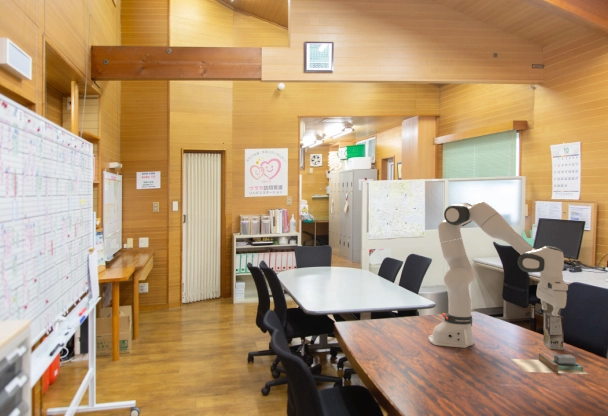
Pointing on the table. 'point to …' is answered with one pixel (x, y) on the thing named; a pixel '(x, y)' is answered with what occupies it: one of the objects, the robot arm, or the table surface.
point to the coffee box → (553, 331)
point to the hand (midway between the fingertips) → (549, 312)
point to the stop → (564, 360)
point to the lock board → (547, 366)
